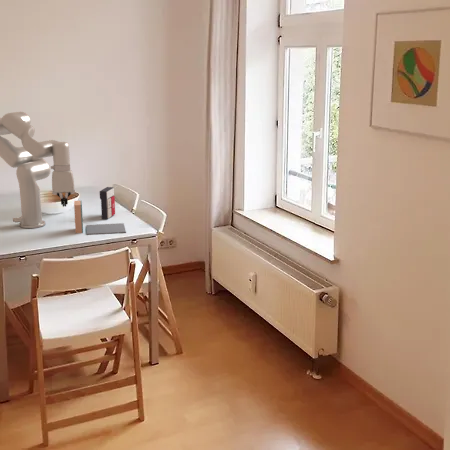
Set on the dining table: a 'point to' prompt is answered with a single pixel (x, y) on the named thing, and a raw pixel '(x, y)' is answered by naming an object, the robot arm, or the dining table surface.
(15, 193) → the dining table surface
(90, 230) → the mat
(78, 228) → the sponge
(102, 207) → the grey red upright box
